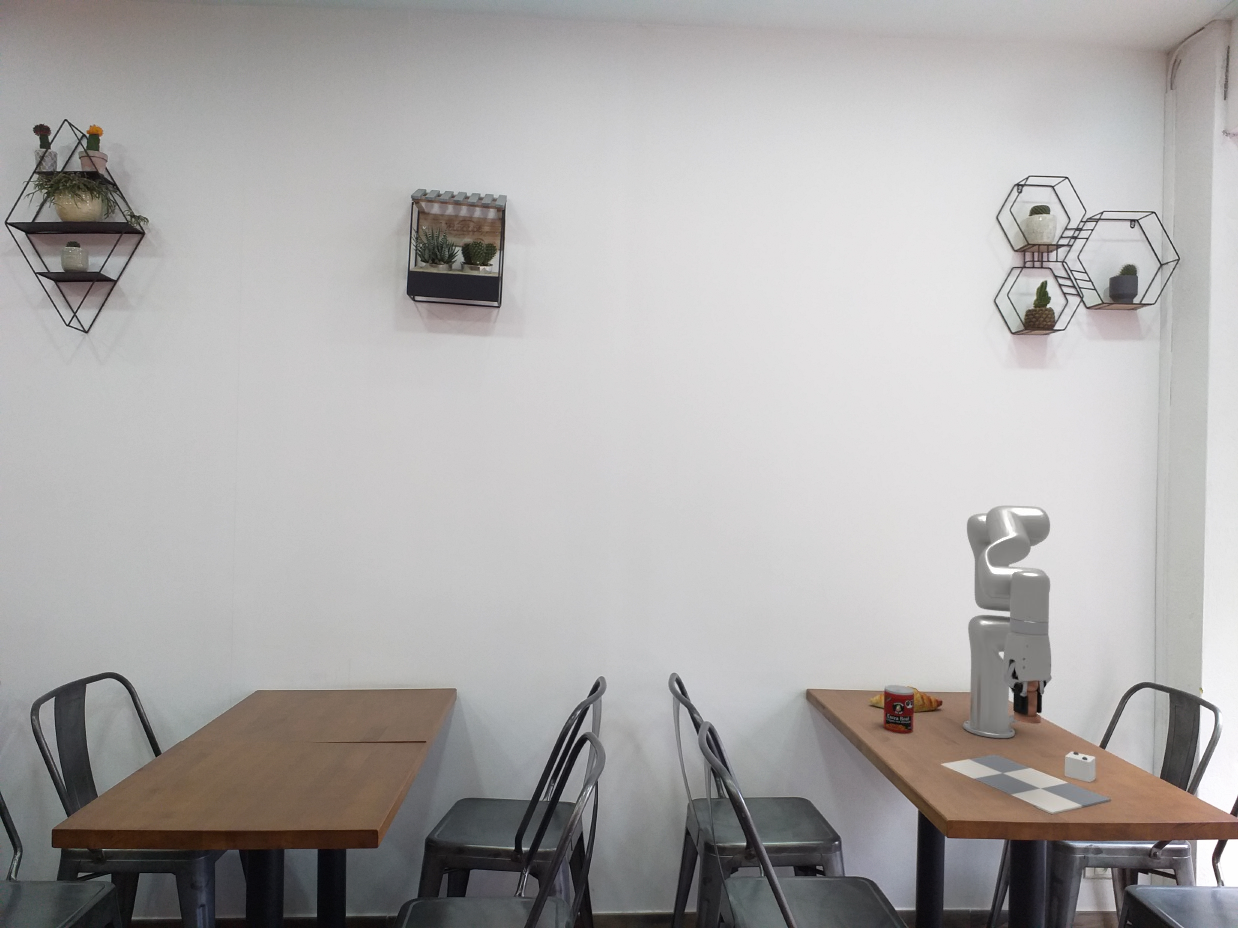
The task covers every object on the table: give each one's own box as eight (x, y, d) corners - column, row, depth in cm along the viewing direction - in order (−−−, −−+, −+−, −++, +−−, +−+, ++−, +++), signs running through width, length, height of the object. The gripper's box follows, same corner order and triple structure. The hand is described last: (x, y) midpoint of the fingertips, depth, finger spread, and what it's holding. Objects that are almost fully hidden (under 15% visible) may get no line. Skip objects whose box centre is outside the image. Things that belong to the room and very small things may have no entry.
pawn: (1024, 715, 171) (1025, 670, 172) (1046, 722, 167) (1047, 675, 167) (1008, 717, 169) (1009, 671, 170) (1029, 724, 164) (1030, 677, 165)
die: (1071, 772, 182) (1071, 748, 182) (1095, 778, 178) (1095, 754, 178) (1064, 777, 178) (1065, 753, 178) (1089, 784, 175) (1089, 759, 175)
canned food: (882, 731, 208) (883, 690, 208) (884, 722, 215) (885, 683, 216) (912, 735, 205) (913, 693, 205) (913, 727, 212) (914, 687, 213)
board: (995, 756, 191) (995, 754, 191) (1110, 800, 165) (1110, 798, 165) (940, 765, 183) (940, 763, 183) (1051, 814, 157) (1051, 812, 157)
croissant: (872, 720, 229) (875, 700, 225) (864, 696, 238) (867, 676, 234) (945, 723, 228) (949, 702, 224) (934, 698, 237) (939, 678, 233)
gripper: (1039, 623, 175) (1038, 704, 175) (987, 626, 169) (985, 710, 168) (1070, 629, 168) (1069, 713, 168) (1017, 632, 162) (1015, 720, 161)
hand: (1027, 711), depth 168 cm, fingers closed on pawn, 3 cm apart
